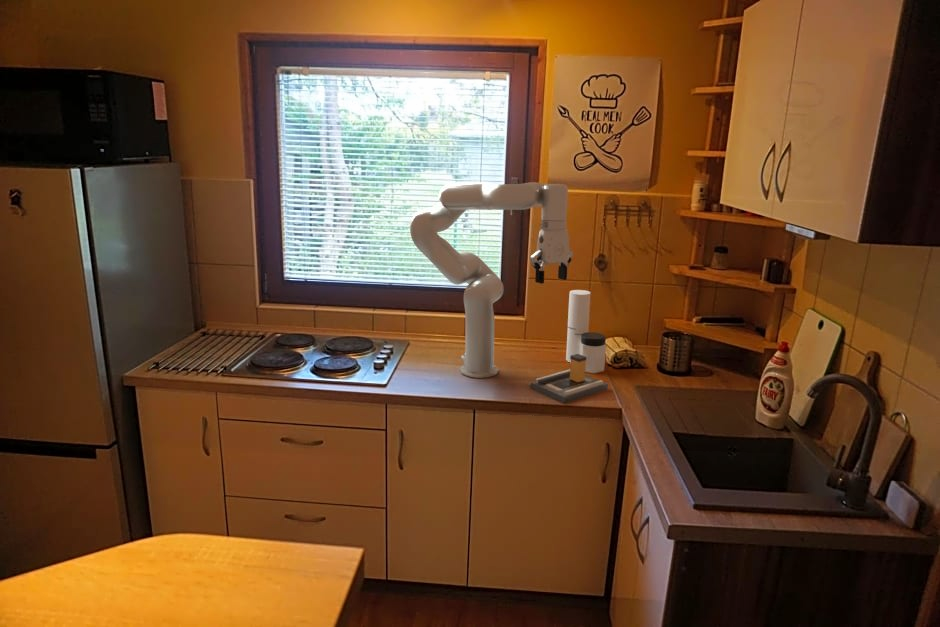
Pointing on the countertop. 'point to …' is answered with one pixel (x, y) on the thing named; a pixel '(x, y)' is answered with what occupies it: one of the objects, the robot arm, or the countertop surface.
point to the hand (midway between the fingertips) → (551, 281)
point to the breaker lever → (577, 367)
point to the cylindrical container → (577, 320)
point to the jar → (593, 351)
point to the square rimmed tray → (564, 374)
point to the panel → (567, 388)
